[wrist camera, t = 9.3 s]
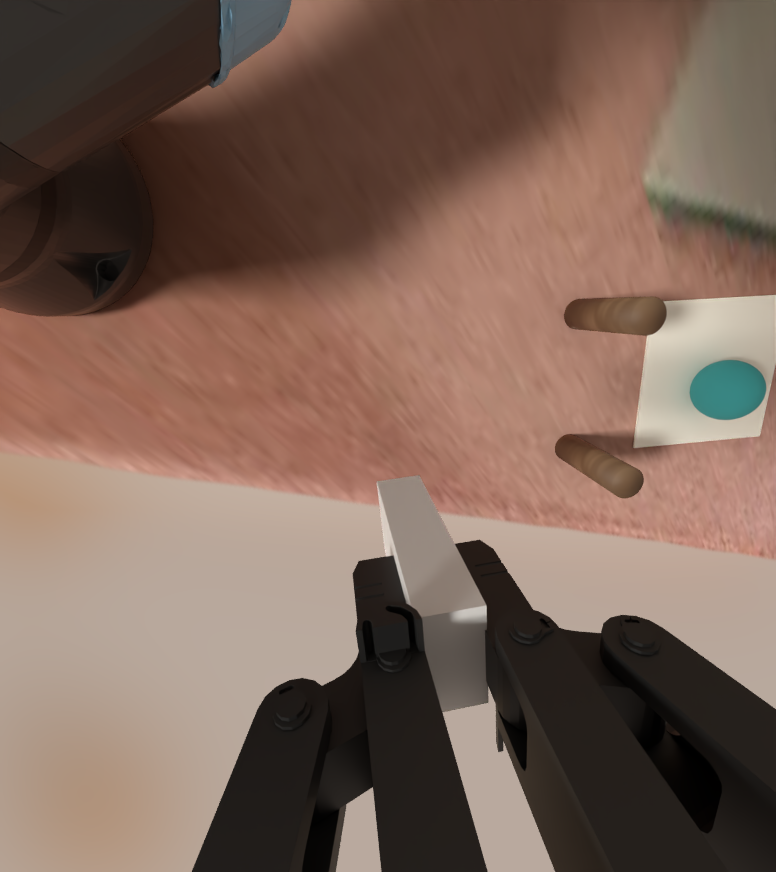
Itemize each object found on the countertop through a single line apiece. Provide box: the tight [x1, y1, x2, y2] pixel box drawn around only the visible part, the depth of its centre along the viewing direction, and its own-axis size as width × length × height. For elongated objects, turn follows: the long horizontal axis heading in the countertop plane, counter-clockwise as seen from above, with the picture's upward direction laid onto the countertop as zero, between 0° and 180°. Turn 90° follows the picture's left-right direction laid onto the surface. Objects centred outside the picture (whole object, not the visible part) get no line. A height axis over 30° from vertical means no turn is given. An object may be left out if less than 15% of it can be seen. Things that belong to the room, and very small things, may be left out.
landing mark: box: [633, 295, 776, 448], centre depth 41 cm, size 14×14×1 cm
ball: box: [690, 360, 766, 420], centre depth 39 cm, size 6×6×6 cm
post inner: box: [564, 297, 667, 336], centre depth 34 cm, size 3×3×9 cm
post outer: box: [555, 434, 644, 498], centre depth 37 cm, size 3×3×9 cm
